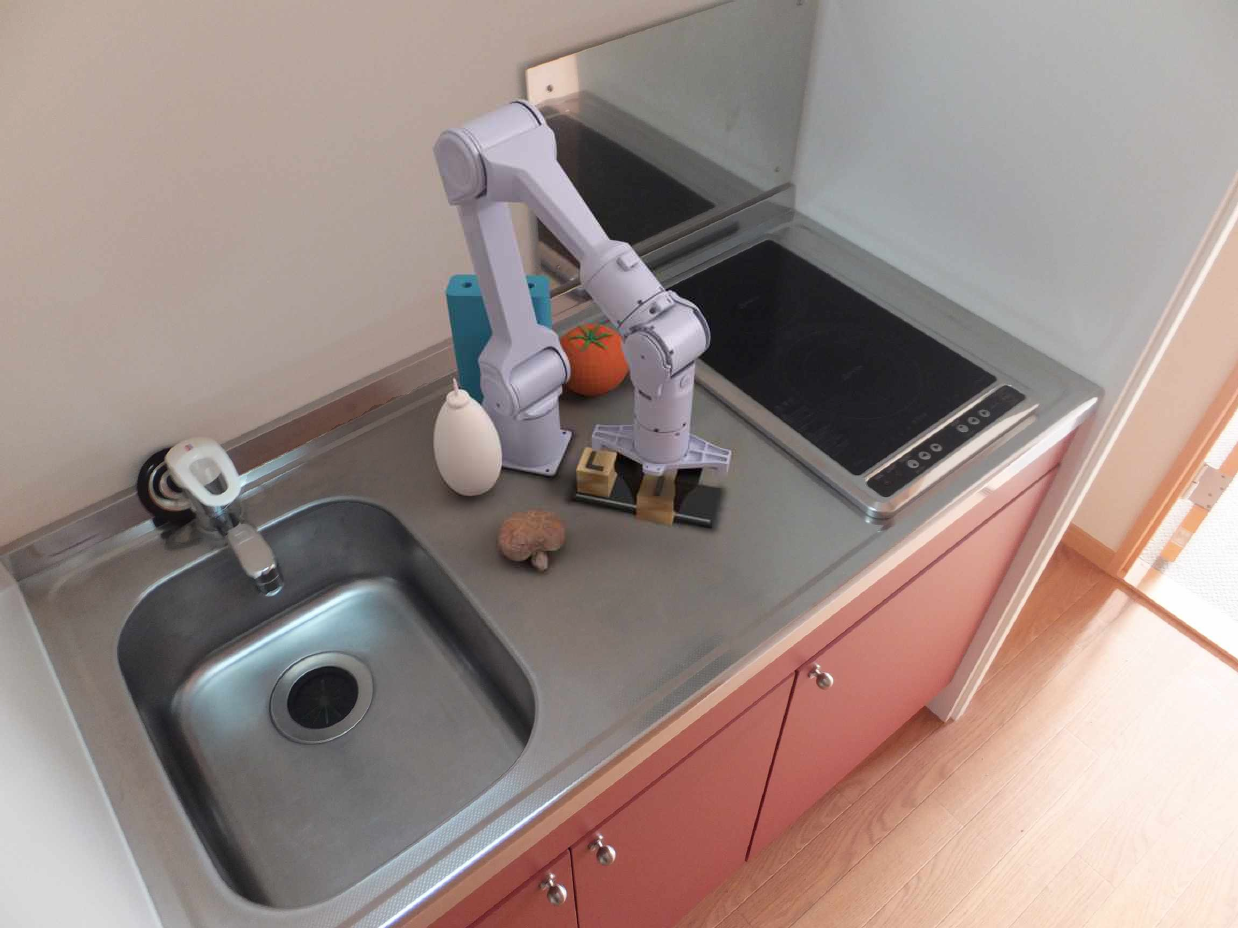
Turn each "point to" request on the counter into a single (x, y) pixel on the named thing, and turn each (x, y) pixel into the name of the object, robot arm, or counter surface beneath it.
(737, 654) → the counter surface
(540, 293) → the block
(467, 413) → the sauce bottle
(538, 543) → the mushroom
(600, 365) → the tomato
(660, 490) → the tile
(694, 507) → the black tile rack
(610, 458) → the tile
